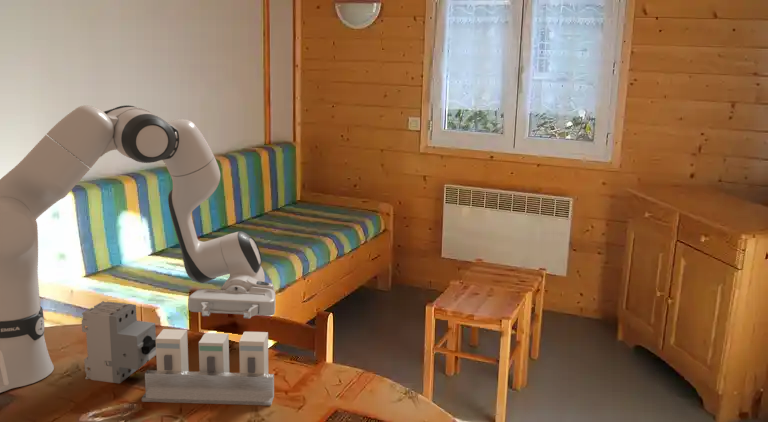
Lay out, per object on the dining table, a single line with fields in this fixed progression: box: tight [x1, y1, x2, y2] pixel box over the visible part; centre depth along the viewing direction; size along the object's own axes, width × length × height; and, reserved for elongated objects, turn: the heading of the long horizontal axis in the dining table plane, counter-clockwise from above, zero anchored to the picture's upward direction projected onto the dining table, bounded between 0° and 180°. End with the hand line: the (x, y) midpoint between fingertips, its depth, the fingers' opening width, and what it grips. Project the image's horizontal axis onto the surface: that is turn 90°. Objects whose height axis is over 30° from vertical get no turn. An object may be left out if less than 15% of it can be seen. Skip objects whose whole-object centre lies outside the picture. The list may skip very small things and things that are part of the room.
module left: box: [155, 328, 190, 371], centre depth 146 cm, size 5×6×12 cm
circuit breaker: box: [81, 300, 157, 384], centre depth 151 cm, size 8×14×15 cm, turn 78°
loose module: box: [198, 332, 230, 373], centre depth 147 cm, size 5×6×11 cm
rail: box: [141, 369, 275, 406], centre depth 143 cm, size 26×4×5 cm, turn 89°
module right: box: [238, 331, 269, 374], centre depth 146 cm, size 5×6×12 cm
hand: (225, 314), depth 159 cm, fingers open, 8 cm apart
